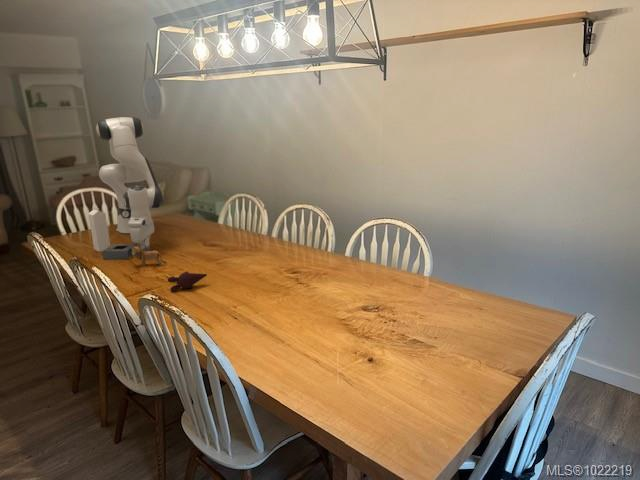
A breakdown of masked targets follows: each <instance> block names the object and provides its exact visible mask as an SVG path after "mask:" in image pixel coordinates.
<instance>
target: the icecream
mask: <svg viewBox="0 0 640 480" xmlns="http://www.w3.org/2000/svg"><path fill="white" fill-rule="evenodd" d="M207 276H208V274H207V273H195V272H194V273H191V272H189V271H187V270H186V271H184V272H182V273H181V274H179V276H178V277H177V276H174V275H173V276H170V277H168V278H167V282H169V283H176V284H174V285H173V286H171V288H170V291H171V292H177V291H178V290H180V289H181V288H182V289H192V288H193V287H194V285H196V283H197V284H198V282H200V281H201V280H203V279H204V278H205V277H207Z"/></svg>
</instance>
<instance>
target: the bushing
mask: <svg viewBox="0 0 640 480" xmlns="http://www.w3.org/2000/svg"><path fill="white" fill-rule="evenodd" d="M149 243H150V240H149V237H147V238H146V239H144V244H145V248H144V249H145V250H146V251H151V245H150V244H149Z"/></svg>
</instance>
